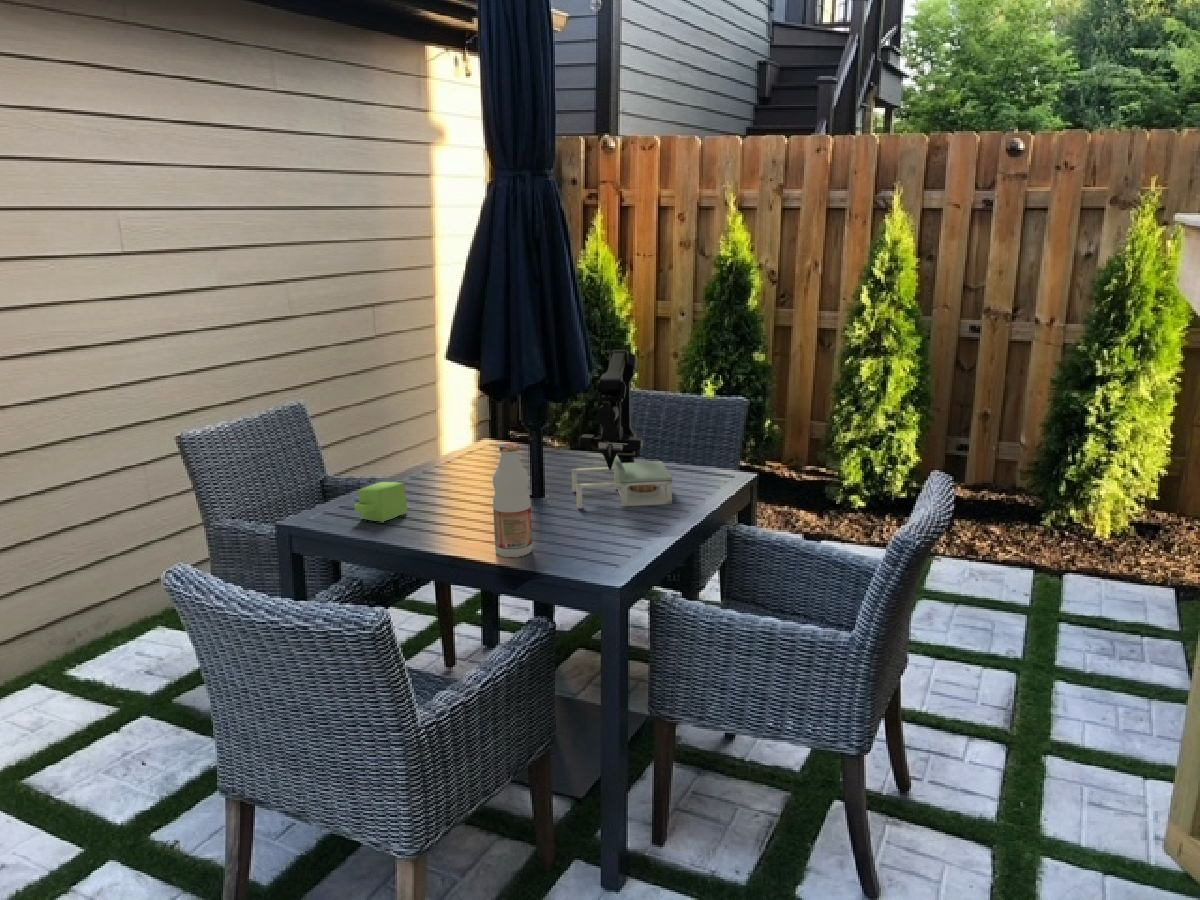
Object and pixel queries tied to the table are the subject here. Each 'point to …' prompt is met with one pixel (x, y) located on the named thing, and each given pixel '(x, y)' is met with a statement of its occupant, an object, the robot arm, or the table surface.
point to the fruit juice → (511, 505)
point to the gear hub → (643, 488)
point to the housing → (627, 489)
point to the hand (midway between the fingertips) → (610, 470)
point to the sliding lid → (640, 471)
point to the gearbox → (382, 501)
